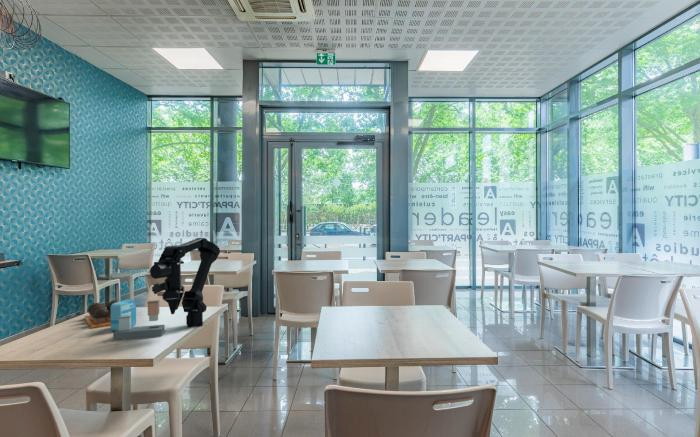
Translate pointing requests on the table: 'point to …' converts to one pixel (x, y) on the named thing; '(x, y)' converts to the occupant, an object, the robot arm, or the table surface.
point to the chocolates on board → (99, 315)
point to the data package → (122, 312)
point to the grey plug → (124, 322)
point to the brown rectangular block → (153, 310)
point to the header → (139, 332)
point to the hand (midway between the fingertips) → (174, 311)
